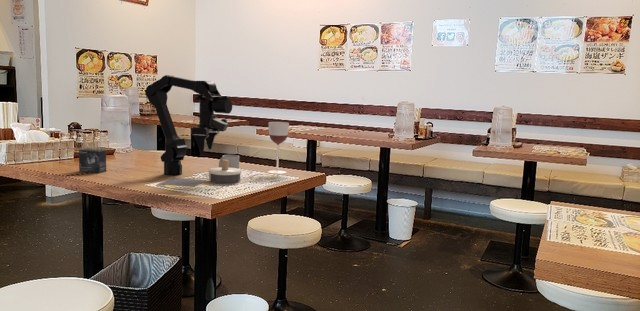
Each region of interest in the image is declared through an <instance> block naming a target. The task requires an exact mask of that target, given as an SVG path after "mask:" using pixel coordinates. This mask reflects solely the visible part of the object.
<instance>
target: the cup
mask: <svg viewBox="0 0 640 311" xmlns="http://www.w3.org/2000/svg"><path fill="white" fill-rule="evenodd" d="M222 160H228V167H229V168H238V169H240V155H236V154H224V155H222V157H220V159H219V160H218V168H219V167H222Z"/></svg>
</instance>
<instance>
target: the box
mask: <svg viewBox="0 0 640 311" xmlns="http://www.w3.org/2000/svg"><path fill="white" fill-rule="evenodd" d="M78 161H79V162H78V167H79V168H78V171H79V172H80V173H92V174H101V173H105V172H107V150H106V149H93V148H81V149H78Z"/></svg>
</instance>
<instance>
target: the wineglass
mask: <svg viewBox="0 0 640 311" xmlns="http://www.w3.org/2000/svg"><path fill="white" fill-rule="evenodd" d="M289 127H290V122H288V121H287V122H286V121H269V122H268V135H269V139H270V141H271V142H273V143H275V144H276V146H277V147H276V168H275V169H274V170H268V171H267V173H271V174H276V175H278V174H286V173H288V172H287V171H285V170H279V164H280V163H279V161H280V160H279V159H280V156H279V155H280V145H281V144H282V143H284V142H285V141H286V140H287V139H288V138H287V137H288V134H289V130H290V128H289Z"/></svg>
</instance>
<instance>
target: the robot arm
mask: <svg viewBox="0 0 640 311" xmlns="http://www.w3.org/2000/svg"><path fill="white" fill-rule="evenodd" d="M173 87H178V88H182V89H186V90H191V91H193V92H194V93H196V94H198V95H197V96H196V97H195V98H194V101H198V102H199V104H198V105H199V109H198V111H199V112H198V114H197V118H198V120H199V121H198V122H199V124H197V126H193V127H192V128H191V129H190V134H191V135H192V137H193V138H194V140H195V142H196V144H197V145H196V146H198V149H199V151H200V152H201V153H204V152H205V146H207V148H208V150H212V147H213V145H214V142H215V137H216V136H218V135H219V134H220V132H226V130H227V128H228V127H229V123H228V119H225V118H222V119H218V118H217V115H216V113H217V114H230V113H231V112H232V111H233V110H232V109H233V103H232V101H231V98H230V96H222V95H221V93H220V91H219V89H218V88H217V84H216V83H215V81H211V80H193V79H187V78H183V77H178V76H174V75H171V74H170V75H169V74H165V75H163V76H162V77H161V78H160V79H158V80H156V81H154V82H152V84H149V85H148V86H146V88H145V91H144V93H145V96H146V98H147V100H148V102H149V103H151V105H152V106H153V108H154V109H155V111H156V115H157V118H158V120H159V123H160V126H161V129H162V131H163V135H164V137H165V143H164V149H165V150H164V151H165V152H163V154H162V155H160V160H161V162H162V163H163V174H162V176H171V177H173V176H174V177H175V176H176V177H177V176H180V175H183V174H184V173H183V164H182V161H184V158H185V156H186V154H187V152H188V146H187V144H186V140H185V137H184V138H183V137H182V138H181V137H179V135H178V133H177V130H176V127H175V125H174V122H173V119H172V116H171V112H170V111H169V108H168V105H167V101H168V93H169V92H170V91H171V90H172V88H173Z"/></svg>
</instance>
